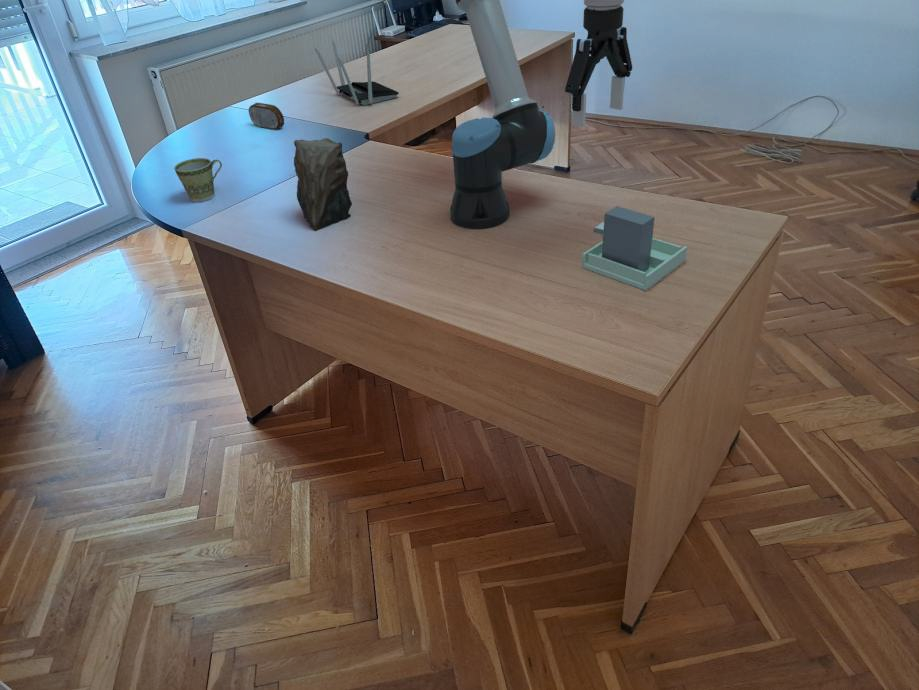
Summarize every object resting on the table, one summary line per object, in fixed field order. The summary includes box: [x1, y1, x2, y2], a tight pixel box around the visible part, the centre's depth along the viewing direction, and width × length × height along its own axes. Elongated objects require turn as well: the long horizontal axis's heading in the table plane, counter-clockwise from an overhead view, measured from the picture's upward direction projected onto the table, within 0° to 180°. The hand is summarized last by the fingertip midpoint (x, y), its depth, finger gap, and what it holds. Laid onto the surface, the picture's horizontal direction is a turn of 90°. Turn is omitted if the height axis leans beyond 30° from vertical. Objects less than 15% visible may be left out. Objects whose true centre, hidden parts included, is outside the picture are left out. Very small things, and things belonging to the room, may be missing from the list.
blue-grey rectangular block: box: [602, 205, 655, 272], centre depth 144 cm, size 9×4×12 cm, turn 46°
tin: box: [248, 102, 285, 131], centre depth 244 cm, size 15×3×8 cm, turn 58°
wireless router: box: [313, 38, 400, 106], centre depth 264 cm, size 34×23×20 cm
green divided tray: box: [581, 237, 688, 291], centre depth 149 cm, size 16×16×3 cm
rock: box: [293, 137, 353, 232], centre depth 175 cm, size 13×13×20 cm
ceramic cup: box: [173, 157, 223, 203], centre depth 195 cm, size 13×10×10 cm
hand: (597, 117), depth 144 cm, fingers open, 13 cm apart
